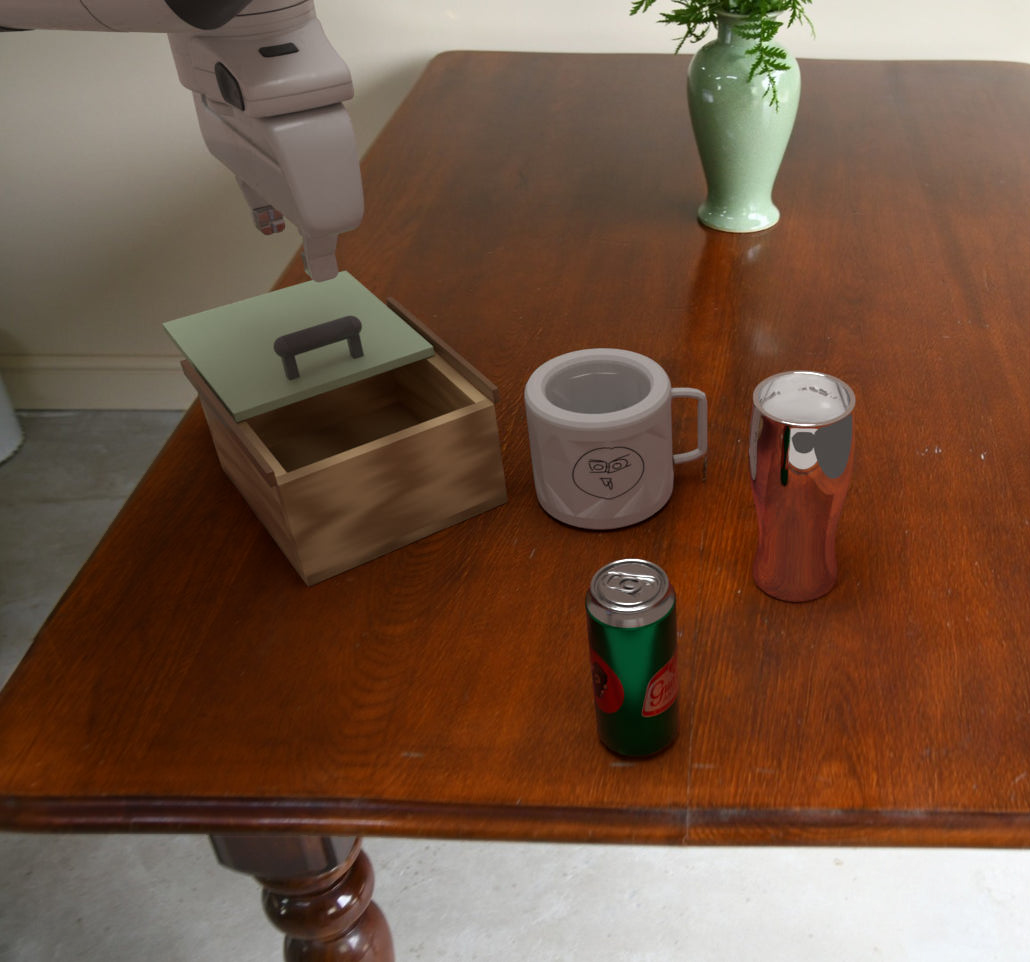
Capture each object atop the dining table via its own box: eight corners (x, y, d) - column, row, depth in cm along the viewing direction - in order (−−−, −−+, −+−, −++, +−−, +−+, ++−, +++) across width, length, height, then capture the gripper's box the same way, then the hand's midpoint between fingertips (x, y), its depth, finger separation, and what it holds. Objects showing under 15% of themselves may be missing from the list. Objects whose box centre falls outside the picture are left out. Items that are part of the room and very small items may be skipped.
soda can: (662, 771, 67) (656, 624, 59) (584, 750, 68) (568, 603, 61) (691, 709, 70) (688, 564, 63) (616, 690, 72) (605, 546, 64)
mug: (541, 541, 83) (527, 429, 77) (532, 458, 92) (519, 351, 86) (720, 519, 86) (720, 409, 80) (695, 440, 94) (694, 335, 88)
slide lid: (236, 423, 80) (220, 373, 77) (164, 331, 90) (149, 285, 88) (435, 355, 87) (426, 308, 85) (347, 278, 98) (338, 234, 95)
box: (301, 590, 79) (266, 473, 73) (215, 470, 91) (179, 360, 84) (513, 499, 88) (498, 387, 81) (411, 400, 99) (391, 296, 93)
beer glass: (863, 582, 80) (881, 404, 71) (785, 621, 77) (793, 439, 68) (803, 531, 85) (813, 357, 76) (727, 565, 81) (728, 388, 72)
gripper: (146, 20, 75) (201, 216, 84) (256, 98, 63) (308, 320, 71) (240, 6, 79) (284, 196, 87) (363, 77, 66) (401, 292, 74)
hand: (295, 252), depth 79 cm, fingers open, 8 cm apart
